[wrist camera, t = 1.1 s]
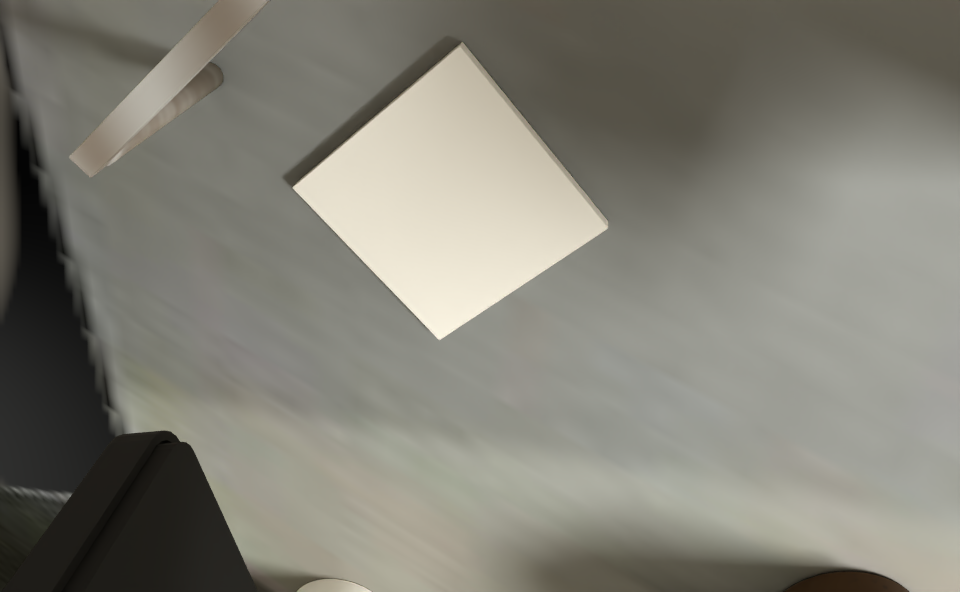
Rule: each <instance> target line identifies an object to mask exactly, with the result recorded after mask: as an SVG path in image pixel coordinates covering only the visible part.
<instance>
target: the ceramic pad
mask: <svg viewBox="0 0 960 592" xmlns="http://www.w3.org/2000/svg"><path fill="white" fill-rule="evenodd" d="M293 189H294V190H295V191H296V192H297V193H298V194H299V195H300V196H301V197H302V198H303V199H304V200H305V201H306V202H307V204H308V205H309V206H310V207H311V208H312V209H313V210H314V211H315V212H316V213H317V214H318V215H319V216H320V217H321V218H322V219H323V220H324V221H325V222H326V223H327V224H328V225H329V226H330V227H331V228H332V229H333V230H334V231H335V233H336V234H337V235H338V236H339V237H340V238H341V239H342V240H343V241H344V242H345V243H346V244H347V245H348V246H349V247H350V248H351V249H352V250H353V251H354V252H355V253H356V254H357V255H358V256H359V257H360V258H361V259H362V261H363V262H364V263H365V264H366V265H367V266H368V267H369V268H370V269H371V270H372V271H373V272H374V273H375V274H376V275H377V276H378V277H379V278H380V279H381V280H382V281H383V282H384V283H385V284H386V285H387V286H388V287H389V289H390V290H391V291H392V292H393V293H394V294H395V295H396V296H397V297H398V298H399V299H400V300H401V301H402V302H403V303H404V304H405V305H406V306H407V307H408V308H409V309H410V310H411V311H412V312H413V313H414V314H415V315H416V317H417V318H418V319H419V320H420V321H421V322H422V323H423V324H424V325H425V326H426V327H427V328H428V329H429V330H430V331H431V332H432V333H433V334H434V335H435V336H436V337H437V338H438V339H439V340H440V339H442V338H443V337H445V336H446V335H448V334H449V333H451V332H452V331H454V330H455V329H457V328H458V327H460V326H461V325H463V324H464V323H466V322H467V321H469V320H470V319H472V318H473V317H475V316H476V315H478V314H479V313H481V312H482V311H484V310H486V309H487V308H489V307H490V306H492V305H493V304H495V303H496V302H498V301H499V300H501V299H502V298H504V297H505V296H507V295H508V294H510V293H511V292H513V291H514V290H516V289H517V288H519V287H520V286H522V285H523V284H525V283H526V282H528V281H529V280H531V279H532V278H534V277H535V276H537V275H538V274H540V273H541V272H543V271H544V270H546V269H547V268H549V267H550V266H552V265H554V264H555V263H557V262H558V261H560V260H561V259H563V258H564V257H566V256H567V255H569V254H570V253H572V252H573V251H575V250H576V249H578V248H579V247H581V246H582V245H584V244H585V243H587V242H588V241H590V240H591V239H593V238H594V237H596V236H597V235H599V234H600V233H602V232H603V231H605V230H606V229H608V220H607V219H606V218H605V217H604V216H603V214H602V213H601V212H600V211H599V209H598V208H597V207H596V206H595V204H594V203H593V202H592V201H591V200H590V198H589V197H588V196H587V195H586V193H585V192H584V191H583V190H582V188H581V187H580V186H579V185H578V184H577V182H576V181H575V180H574V179H573V177H572V176H571V175H570V174H569V172H568V171H567V170H566V169H565V168H564V166H563V165H562V164H561V163H560V161H559V160H558V159H557V158H556V156H555V155H554V154H553V153H552V152H551V150H550V149H549V148H548V147H547V145H546V144H545V143H544V142H543V140H542V139H541V138H540V137H539V136H538V134H537V133H536V132H535V131H534V129H533V128H532V127H531V126H530V124H529V123H528V122H527V121H526V120H525V118H524V117H523V116H522V115H521V113H520V112H519V111H518V110H517V108H516V107H515V106H514V105H513V104H512V102H511V101H510V100H509V99H508V97H507V96H506V95H505V94H504V92H503V91H502V90H501V89H500V88H499V86H498V85H497V84H496V83H495V81H494V80H493V79H492V78H491V76H490V75H489V74H488V73H487V72H486V70H485V69H484V68H483V67H482V65H481V64H480V63H479V62H478V60H477V59H476V58H475V57H474V56H473V54H472V53H471V52H470V51H469V49H468V48H467V47H466V46H465V44H464V43H463V42H461V43H460V44H459V45H458V46H457V47H455V48H454V49H453V50H452V51H451V52H450V53H448V54H447V55H446V56H445V57H444V58H442V59H441V60H440V61H439V62H438V63H437V64H435V65H434V66H433V67H432V68H431V69H430V70H428V71H427V72H426V73H425V74H424V75H422V76H421V77H420V78H419V79H418V80H417V81H415V82H414V83H413V84H412V85H411V86H410V87H408V88H407V89H406V90H405V91H404V92H402V93H401V94H400V95H399V96H398V97H397V98H395V99H394V100H393V101H392V102H391V103H389V104H388V105H387V106H386V107H385V108H384V109H382V110H381V111H380V112H379V113H378V114H377V115H375V116H374V117H373V118H372V119H371V120H369V121H368V122H367V123H366V124H365V125H364V126H362V127H361V128H360V129H359V130H358V131H357V132H355V133H354V134H353V135H352V136H351V137H349V138H348V139H347V140H346V141H345V142H344V143H342V144H341V145H340V146H339V147H338V148H336V149H335V150H334V151H333V152H332V153H331V154H329V155H328V156H327V157H326V158H325V159H324V160H322V161H321V162H320V163H319V164H318V165H316V166H315V167H314V168H313V169H312V170H311V171H309V172H308V173H307V174H306V175H305V176H304V177H302V178H301V179H300V180H299V181H298V182H297V183H296V184H295V185H294V187H293Z"/></svg>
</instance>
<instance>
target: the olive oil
mask: <svg viewBox="0 0 960 592" xmlns="http://www.w3.org/2000/svg"><path fill="white" fill-rule="evenodd" d="M784 592H909V591H908V590H907V589H905V588H904V587H903V586H901V585H900V584H898V583H896V582H894V581H892V580H890V579H887V578H884V577H881V576H878V575H874V574H869V573H863V572H833V573H826V574H822V575H817V576H814V577H811V578H808V579H805V580H803V581H801V582H799V583H797V584H795V585H793V586H791V587H790V588H788V589H787V590H786V591H784Z"/></svg>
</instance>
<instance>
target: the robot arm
mask: <svg viewBox="0 0 960 592" xmlns="http://www.w3.org/2000/svg"><path fill="white" fill-rule="evenodd" d="M2 592H258V591H257V589H256V587H255V584H254V582H253V580H252V578H251V576H250V573H249V571H248V569H247V567H246V565H245V562H244V560H243V558H242V556H241V554H240V551H239V549H238V547H237V545H236V543H235V540H234V538H233V536H232V534H231V532H230V529H229V527H228V525H227V523H226V521H225V519H224V516H223V514H222V512H221V510H220V508H219V505H218V503H217V501H216V499H215V497H214V494H213V492H212V490H211V488H210V486H209V483H208V481H207V479H206V477H205V475H204V472H203V470H202V468H201V466H200V464H199V461H198V459H197V457H196V455H195V453H194V451H193V449H192V448H191V446H190V445H189V444H187V443H186V442H180V441H179V439H178V438H177V436H176V435H174V434H173V433H172V432H169V431H155V432H143V433H132V434H122V435H120V436H117V437H115V438H114V439H113V440H112V441H111V442H110V443H109V445H108V446H107V447H106V449H105V450H104V451H103V453H102V454H101V456H100V457H99V458H98V460H97V461H96V463H95V464H94V466H93V467H92V468H91V469H90V471H89V472H88V473H87V475H86V476H85V478H84V479H83V480H82V482H81V483H80V485H79V486H78V487H77V489H76V490H75V491H74V493H73V494H72V496H71V497H70V498H69V500H68V501H67V502H66V504H65V505H64V507H63V508H62V509H61V511H60V512H59V513H58V515H57V516H56V518H55V519H54V520H53V522H52V523H51V524H50V526H49V527H48V529H47V530H46V531H45V533H44V534H43V535H42V537H41V538H40V540H39V541H38V542H37V544H36V545H35V546H34V548H33V549H32V551H31V552H30V553H29V555H28V556H27V557H26V559H25V560H24V562H23V563H22V564H21V566H20V567H19V569H18V570H17V571H16V573H15V574H14V575H13V577H12V578H11V580H10V581H9V582H8V584H7V585H6V586H5V588H4V589H3V591H2Z"/></svg>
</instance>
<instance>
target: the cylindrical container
mask: <svg viewBox="0 0 960 592" xmlns="http://www.w3.org/2000/svg"><path fill="white" fill-rule="evenodd" d="M297 592H372V591H370V590H368V589H367V588H365V587H363V586H360V585H358V584H356V583H353V582H349V581H346V580H339V579H322V580H316V581H313V582H310V583H307V584H305V585H304V586H302V587H301V588H300V589H299V590H298V591H297Z"/></svg>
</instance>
